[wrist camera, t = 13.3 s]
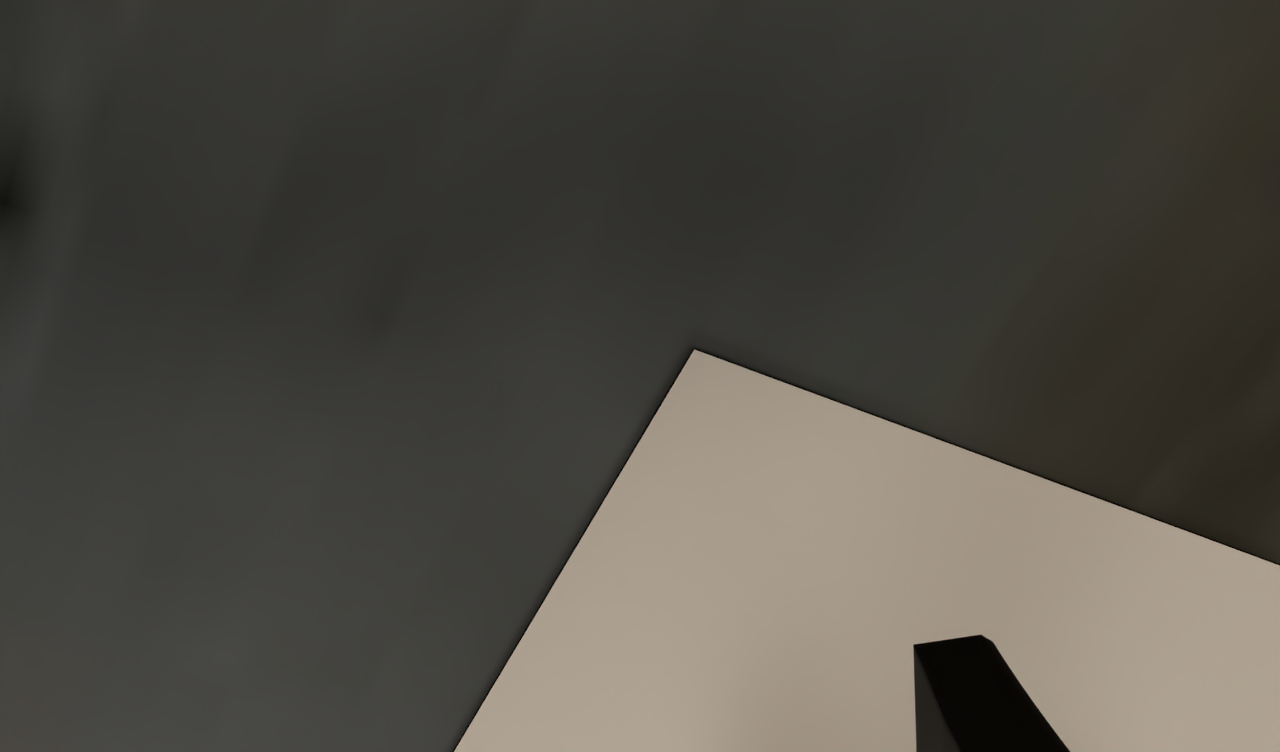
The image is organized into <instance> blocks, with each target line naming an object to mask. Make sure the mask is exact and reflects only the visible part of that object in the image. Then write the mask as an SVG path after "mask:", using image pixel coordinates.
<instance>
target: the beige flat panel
mask: <svg viewBox="0 0 1280 752" xmlns="http://www.w3.org/2000/svg"><path fill="white" fill-rule="evenodd" d="M974 635H983V636H985V637H986V638H988V639H989V640H991V641H993V642H994V644H995V646H996V647H997V649H998V650H999V652H1000V654H1001V655H1002V657H1003V658H1004V660H1005V661H1006V663H1007V664H1008V666H1009V667H1010V669H1011V670H1012V672H1013V673H1014V675H1015V676H1016V678H1017V679H1018V681H1019V682H1020V684H1021V685H1022V687H1023V688H1024V689H1025V691H1026V692H1027V694H1028V695H1029V697H1030V698H1031V699H1032V701H1033V702H1034V704H1035V705H1036V706H1037V708H1038V709H1039V710H1040V712H1041V713H1042V715H1043V716H1044V717H1045V719H1046V720H1047V721H1048V723H1049V724H1050V726H1051V727H1052V728H1053V730H1054V731H1055V732H1056V733H1057V735H1058V736H1059V737H1060V739H1061V740H1062V741H1063V743H1064V744H1065V745H1066V747H1067V748H1068V749H1069V751H1070V752H1280V566H1279V565H1277V564H1274V563H1271V562H1269V561H1266V560H1263V559H1260V558H1258V557H1255V556H1252V555H1250V554H1247V553H1244V552H1241V551H1239V550H1236V549H1233V548H1231V547H1228V546H1225V545H1222V544H1220V543H1217V542H1214V541H1212V540H1209V539H1206V538H1204V537H1201V536H1198V535H1195V534H1193V533H1190V532H1187V531H1185V530H1182V529H1179V528H1176V527H1174V526H1171V525H1168V524H1166V523H1163V522H1160V521H1157V520H1155V519H1152V518H1149V517H1147V516H1144V515H1141V514H1139V513H1136V512H1133V511H1130V510H1128V509H1125V508H1122V507H1120V506H1117V505H1114V504H1111V503H1109V502H1106V501H1103V500H1101V499H1098V498H1095V497H1093V496H1090V495H1087V494H1084V493H1082V492H1079V491H1076V490H1074V489H1071V488H1068V487H1065V486H1063V485H1060V484H1057V483H1055V482H1052V481H1049V480H1046V479H1044V478H1041V477H1038V476H1036V475H1033V474H1030V473H1028V472H1025V471H1022V470H1019V469H1017V468H1014V467H1011V466H1009V465H1006V464H1003V463H1000V462H998V461H995V460H992V459H990V458H987V457H984V456H981V455H979V454H976V453H973V452H971V451H968V450H965V449H963V448H960V447H957V446H954V445H952V444H949V443H946V442H944V441H941V440H938V439H935V438H933V437H930V436H927V435H925V434H922V433H919V432H916V431H914V430H911V429H908V428H906V427H903V426H900V425H898V424H895V423H892V422H889V421H887V420H884V419H881V418H879V417H876V416H873V415H870V414H868V413H865V412H862V411H860V410H857V409H854V408H851V407H849V406H846V405H843V404H841V403H838V402H835V401H833V400H830V399H827V398H824V397H822V396H819V395H816V394H814V393H811V392H808V391H805V390H803V389H800V388H797V387H795V386H792V385H789V384H786V383H784V382H781V381H778V380H776V379H773V378H770V377H768V376H765V375H762V374H759V373H757V372H754V371H751V370H749V369H746V368H743V367H740V366H738V365H735V364H732V363H730V362H727V361H724V360H721V359H719V358H716V357H713V356H711V355H708V354H705V353H703V352H700V351H697V350H694V351H693V353H692V354H691V356H690V358H689V359H688V361H687V363H686V364H685V366H684V368H683V369H682V371H681V373H680V374H679V376H678V378H677V379H676V381H675V383H674V384H673V386H672V388H671V389H670V391H669V393H668V395H667V396H666V398H665V400H664V401H663V403H662V405H661V406H660V408H659V410H658V411H657V413H656V415H655V416H654V418H653V420H652V421H651V423H650V425H649V426H648V428H647V430H646V431H645V433H644V435H643V436H642V438H641V440H640V441H639V443H638V445H637V446H636V448H635V450H634V451H633V453H632V455H631V456H630V458H629V460H628V461H627V463H626V465H625V466H624V468H623V470H622V471H621V473H620V475H619V477H618V478H617V480H616V482H615V483H614V485H613V487H612V488H611V490H610V492H609V493H608V495H607V497H606V498H605V500H604V502H603V503H602V505H601V507H600V508H599V510H598V512H597V513H596V515H595V517H594V518H593V520H592V522H591V523H590V525H589V527H588V528H587V530H586V532H585V533H584V535H583V537H582V538H581V540H580V542H579V543H578V545H577V547H576V548H575V550H574V552H573V553H572V555H571V557H570V558H569V560H568V562H567V564H566V565H565V567H564V569H563V570H562V572H561V574H560V575H559V577H558V579H557V580H556V582H555V584H554V585H553V587H552V589H551V590H550V592H549V594H548V595H547V597H546V599H545V600H544V602H543V604H542V605H541V607H540V609H539V610H538V612H537V614H536V615H535V617H534V619H533V620H532V622H531V624H530V625H529V627H528V629H527V630H526V632H525V634H524V635H523V637H522V639H521V640H520V642H519V644H518V646H517V647H516V649H515V651H514V652H513V654H512V656H511V657H510V659H509V661H508V662H507V664H506V666H505V667H504V669H503V671H502V672H501V674H500V676H499V677H498V679H497V681H496V682H495V684H494V686H493V687H492V689H491V691H490V692H489V694H488V696H487V697H486V699H485V701H484V702H483V704H482V706H481V707H480V709H479V711H478V712H477V714H476V716H475V717H474V719H473V721H472V722H471V724H470V726H469V727H468V729H467V731H466V733H465V734H464V736H463V738H462V739H461V741H460V743H459V744H458V746H457V748H456V749H455V751H454V752H916V719H915V685H914V651H913V645H914V644H920V643H927V642H934V641H941V640H947V639H954V638H961V637H968V636H974Z"/></svg>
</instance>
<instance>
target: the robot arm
mask: <svg viewBox="0 0 1280 752" xmlns="http://www.w3.org/2000/svg"><path fill="white" fill-rule="evenodd" d="M913 651H914V685H915V719H916V752H1070V751H1069V749H1068V748H1067V747H1066V745H1065V744H1064V743H1063V741H1062V740H1061V739H1060V737H1059V736H1058V735H1057V733H1056V732H1055V731H1054V730H1053V728H1052V727H1051V726H1050V724H1049V723H1048V721H1047V720H1046V719H1045V717H1044V716H1043V715H1042V713H1041V712H1040V710H1039V709H1038V708H1037V706H1036V705H1035V704H1034V702H1033V701H1032V699H1031V698H1030V697H1029V695H1028V694H1027V692H1026V691H1025V689H1024V688H1023V687H1022V685H1021V684H1020V682H1019V681H1018V679H1017V678H1016V676H1015V675H1014V673H1013V672H1012V670H1011V669H1010V667H1009V666H1008V664H1007V663H1006V661H1005V660H1004V658H1003V657H1002V655H1001V654H1000V652H999V650H998V649H997V647H996V646H995V644H994V642H993V641H991V640H989V639H988V638H986V637H985V636H983V635H974V636H968V637H961V638H954V639H947V640H941V641H934V642H927V643H920V644H914V645H913Z"/></svg>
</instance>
